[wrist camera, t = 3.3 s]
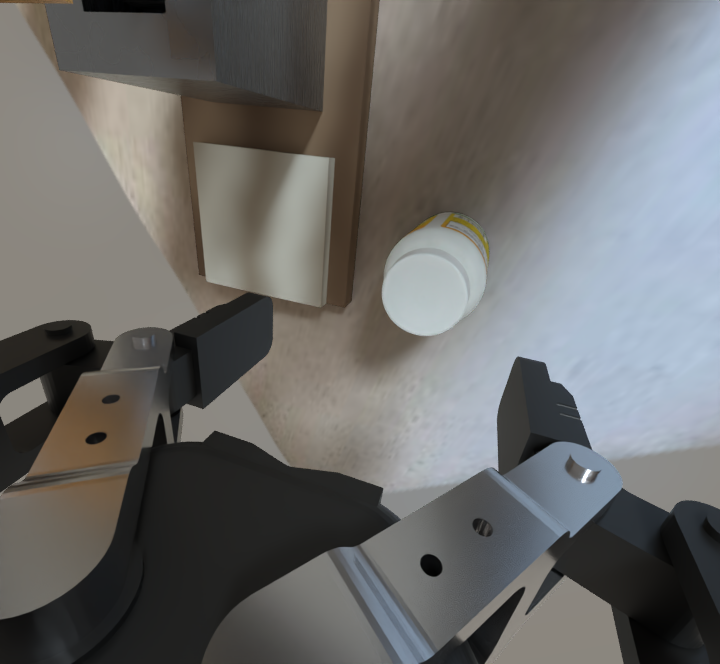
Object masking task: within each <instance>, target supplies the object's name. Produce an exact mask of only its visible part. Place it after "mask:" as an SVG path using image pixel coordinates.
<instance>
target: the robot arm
mask: <svg viewBox="0 0 720 664" xmlns="http://www.w3.org/2000/svg"><path fill="white" fill-rule="evenodd" d="M272 339H273V303H272V300H271V298H270V297H267V296H262V295H258V294H254V293H250V292H249V293H246V294H244V295H242V296H240V297H238V298H236V299H235V300H233V301H231V302H229V303H227V304H223V305H219V306H216V307H214V308H212V309H210V310H208V311H206V313H202V314H201V315H199V316H197V318H193V319H191V320H189V321H187V322H185V323H183V324H181V325H180V326H177V327H175V328H174V329H172V330H170V331H168V330H166V329H162V328H155V327H147V328H138V329H134V330H130V331H127V332H125V333H123V334H121V335H119V336H118V337H117V338H116V339H115V341H103V340H94V337H93V334H92V329H91V326H90V325H89V324H88V323H86V322H83V321H76V320H66V321H56V322H51V323H46V324H43V325H40V326H37V327H35V328H32V329H29V330H27V331H24V332H22V333H19V334H17V335H14V336H12V337H9V338H6V339H4V340H1V341H0V403H1V401H2V400H3V398H4V397H5V396H6V395H7V394H9V393H10V392H12V391H14V390H16V389H18V388H20V387H21V386H24V385H26V384H27V383H29V382H31V381H33V380H35V379H37V378H39V377H40V380H41V383H42V386H43V389H44V392H45V395H46V398H47V402H45V403H43V404H41V405H40V406H38V407H36V408H35V409H33V410H31V411H29V412H28V413H26V414H24V415H22V416H21V417H19V418H17V419H16V420H14V421H12V422H10V423H9V424H7V425H5V426H4V424H3V422H2V420H1V417H0V492H2V491H3V490H4V489H6V488H7V487H8V488H7V489H6V490H5V491H4V492H3V493H2V495H1V496H0V664H493V663H494V662H495V660H496V659H497V658H498V657H499V655H500V654H501V653H502V652H503V650H504V649H505V648H506V646H507V645H508V643H509V642H510V640H511V639H512V638H513V637H514V635H515V634H516V633H517V632H518V630H519V629H520V628H521V627H522V626H523V625H524V624H525V622H526V621H527V620H528V619H529V618H530V617H531V616H532V615H533V614H534V613H535V612H536V611H537V610H538V608H539V607H540V606H541V605H542V604H543V603H544V602H545V601H546V600H547V599H548V598H549V597H550V596H551V594H552V593H553V592H554V591H555V590H556V589H557V588H558V587H559V586H560V585H561V584H562V583H563V582H564V581H565V580H566V578H567V577H569V578H570V579H572V580H573V581H575V582H577V583H578V584H579V585H581V586H583V587H584V588H586V589H587V590H589V591H590V592H592V593H593V594H595V595H597V596H598V597H600V598H601V599H603V600H605V601H606V602H608V603H609V604H611V607H612V612H613V616H614V621H615V625H616V630H617V635H618V639H619V644H620V648H621V653H622V658H623V662H624V664H720V509H717V508H715V507H713V506H710V505H708V504H704V503H701V502H697V501H681V502H679V503H677V504H676V505H675V507H674V508H673V509H672V511H671V512H670V513H669V512H667V511H665V510H663V509H661V508H658V507H657V506H655V505H653V504H650V503H649V502H647V501H644V500H643V499H641V498H639V497H637V496H635V495H633V494H631V493H629V492H627V491H626V490H625V489H623V488H622V485H623V484H622V479H621V476H620V474H619V472H618V471H617V470H616V469H615V467H614V466H613V465H612V464H611V463H610V462H609V461H608V460H606V459H605V458H604V457H602V456H601V455H600V454H598V453H596V452H595V451H593V450H592V448H591V445H590V443H589V440H588V437H587V434H586V432H585V429H584V426H583V423H582V421H581V420H580V415H579V412H578V410H577V407H576V404H575V401H574V398H573V396H572V395H571V394H570V393H569V392H568V391H567V390H566V389H565V387H564V386H563V385H562V384H559V383H555V382H551V381H550V378H549V374H548V371H547V367H546V364H545V363H544V362H539V361H535V360H531V359H527V358H522V357H517V358H516V359H515V362H514V364H513V367H512V370H511V373H510V375H509V378H508V381H507V384H506V387H505V390H504V393H503V396H502V398H501V401H500V405H499V409H498V416H497V434H498V468H499V472H498V471H497V470H495V469H494V468H492V467H491V468H487V469H485V470H483V471H481V472H479V473H478V474H476V475H474V476H473V477H471V478H470V479H468V480H466V481H465V482H463V483H461V484H460V485H458V486H456V487H455V488H453V489H451V490H450V491H448V492H446V493H445V494H443V495H441V496H440V497H438V498H436V499H435V500H433V501H431V502H430V503H428V504H426V505H425V506H423V507H422V508H420V509H418V510H417V511H415V512H413V513H412V514H410V515H408V516H407V517H405V518H403V519H402V520H401V519H400V518H399V517H398V516H396V515H395V514H394V513H393V512H391V511H390V510H389V509H388V508H386V507H385V506H383V505H381V504H380V503H381V497H382V493H383V488H381V487H379V486H376V485H373V484H370V483H367V482H364V481H361V480H358V479H355V478H352V477H349V476H346V475H343V474H340V473H336V472H328V471H320V470H311V469H303V468H295V467H290V466H287V465H285V464H283V463H282V462H280V461H279V460H277V459H276V458H274V457H273V456H271V455H269V454H268V453H266V452H265V451H263V450H262V449H260V448H259V447H257V446H256V445H254V444H252V443H250V442H247V441H244V440H241V439H238V438H235V437H232V436H229V435H226V434H223V433H220V432H218V431H214V432H213V433H212V434H211V435H210V436H209V437H208V438H207V439H206V440H205V441H204V442H181V433H182V423H183V409H182V406H184V405H185V404H189V405H193V406H196V407H199V408H202V409H204V408H205V407H206V406H207V405H209V404H210V403H211V402H212V401H213V400H215V399H216V398H217V397H218V396H219V395H220V394H221V393H223V392H224V391H225V390H226V389H227V388H229V387H230V386H231V385H232V384H233V383H234V382H236V381H237V380H238V379H239V378H240V377H241V376H243V375H244V374H245V373H246V372H247V371H249V370H250V369H251V368H252V367H253V366H254V365H256V364H257V363H258V362H259V361H260V360H261V359H263V358H264V357H265V356H266V355H267V354H268V352H269V350H270V348H271V345H272ZM28 472H29V473H28ZM27 473H28V475H27V476H26V478H25V479H24V480H23V481H21V482H19V483H15V484H13V483H14V482H16V481H17V480H18V479H20V478H21V477H23V476H24V475H25V474H27ZM11 484H13V485H11ZM10 485H11V486H10Z"/></svg>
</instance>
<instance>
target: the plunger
mask: <svg viewBox="0 0 720 664" xmlns="http://www.w3.org/2000/svg"><path fill="white" fill-rule="evenodd" d="M121 1H123V2H126V3H128V4H130V5H133V6H135V7H137V8H140V9H142V10H144V11H147V12H149V13H166V7H165V0H121ZM0 3H60V4H73V0H0Z"/></svg>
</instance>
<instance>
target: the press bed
mask: <svg viewBox="0 0 720 664" xmlns="http://www.w3.org/2000/svg"><path fill="white" fill-rule="evenodd" d="M379 1H380V0H328V3H327V26H326V48H325V70H324V92H323V112H320V111H309V110H297V109H286V108H275V107H263V106H252V105H240V104H229V103H218V102H210V101H205V100H200V99H195V98H191V97H186V96H181V101H182V111H183V121H184V131H185V141H186V150H187V160H188V170H189V180H190V190H191V199H192V209H193V219H194V229H195V239H196V248H197V258H198V268H199V275H202V276H206V282H210V283H214V284H219V285H223V286H228V287H232V288H236V289H241V290H245V291H249V292H254V293H258V294H263V295H267V296H271V297H276V298H280V299H284V300H289V301H293V302H298V303H302V304H306V305H311V306H315V307H319V308H321V307H322V306H324V305H325V304H326V303H327V304H332V305H336V306H340V307H346V306H347V305H348V304H349V303H350V302H351V300H352V289H353V278H354V268H355V257H356V246H357V236H358V225H359V214H360V204H361V193H362V182H363V172H364V161H365V150H366V140H367V129H368V118H369V108H370V97H371V86H372V76H373V65H374V54H375V44H376V33H377V22H378V12H379Z"/></svg>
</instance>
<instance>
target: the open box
mask: <svg viewBox="0 0 720 664" xmlns="http://www.w3.org/2000/svg"><path fill="white" fill-rule="evenodd" d="M327 3H328V0H165V7H166V13H149V12H147V11H144V10H142V9H140V8H137V7H135V6H133V5H130V4H128V3H126V2H123V1H121V0H73V4H60V3H45V7H46V12H47V16H48V21H49V25H50V30H51V34H52V39H53V43H54V48H55V52H56V57H57V61H58V66H59V70H61V71H66V72H71V73H76V74H80V75H85V76H90V77H95V78H100V79H104V80H109V81H114V82H119V83H123V84H128V85H133V86H138V87H143V88H147V89H152V90H157V91H162V92H167V93H171V94H176V95H181V96H186V97H191V98H195V99H200V100H205V101H210V102H218V103H229V104H240V105H252V106H263V107H275V108H286V109H297V110H309V111H320V112H323V92H324V70H325V48H326V26H327Z"/></svg>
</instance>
